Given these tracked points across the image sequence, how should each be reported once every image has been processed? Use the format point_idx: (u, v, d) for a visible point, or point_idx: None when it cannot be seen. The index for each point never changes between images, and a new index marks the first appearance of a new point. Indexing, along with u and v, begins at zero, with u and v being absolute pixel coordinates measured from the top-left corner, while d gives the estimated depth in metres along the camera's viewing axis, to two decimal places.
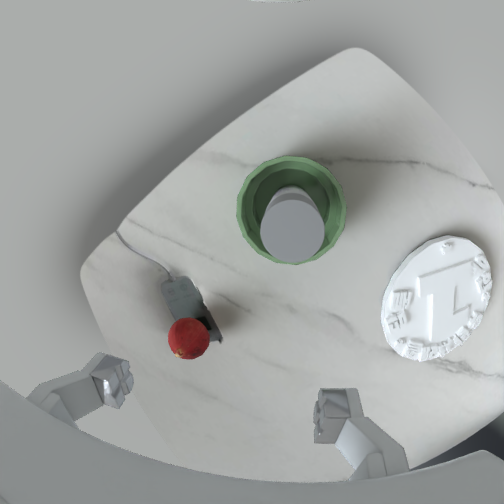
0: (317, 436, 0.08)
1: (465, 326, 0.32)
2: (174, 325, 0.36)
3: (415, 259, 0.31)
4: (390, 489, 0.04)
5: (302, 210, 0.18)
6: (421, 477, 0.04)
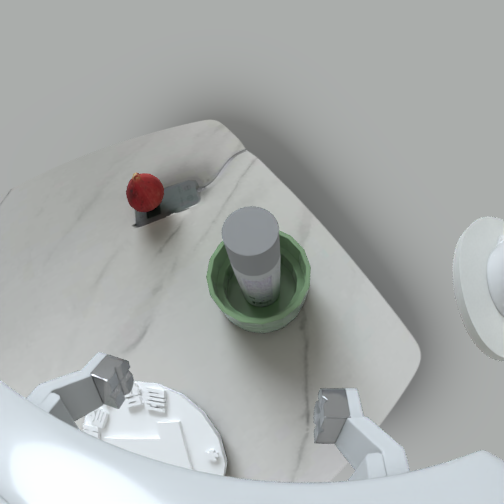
0: (317, 436, 0.08)
1: None
2: (159, 181, 0.39)
3: (200, 417, 0.27)
4: (390, 489, 0.04)
5: (269, 237, 0.21)
6: (421, 477, 0.04)
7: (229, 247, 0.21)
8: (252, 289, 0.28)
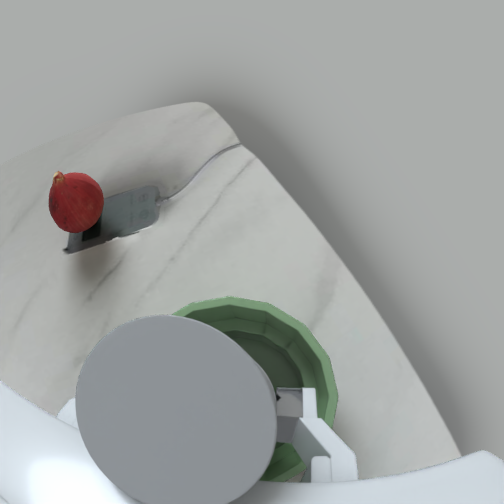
0: None
1: None
2: (96, 185, 0.23)
3: None
4: (390, 489, 0.04)
5: (233, 464, 0.04)
6: (421, 477, 0.04)
7: (95, 458, 0.04)
8: None
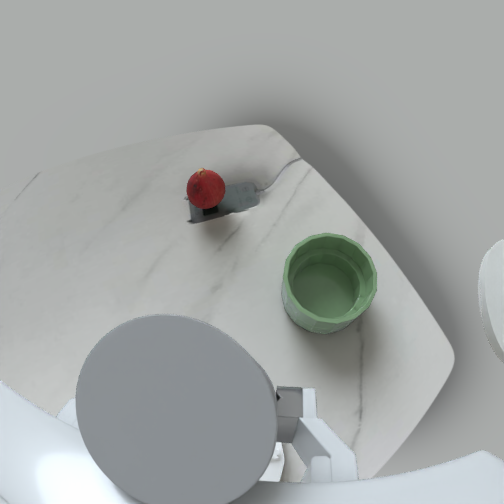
0: None
1: None
2: None
3: None
4: (390, 489, 0.04)
5: (233, 463, 0.04)
6: (421, 477, 0.04)
7: (95, 458, 0.04)
8: None
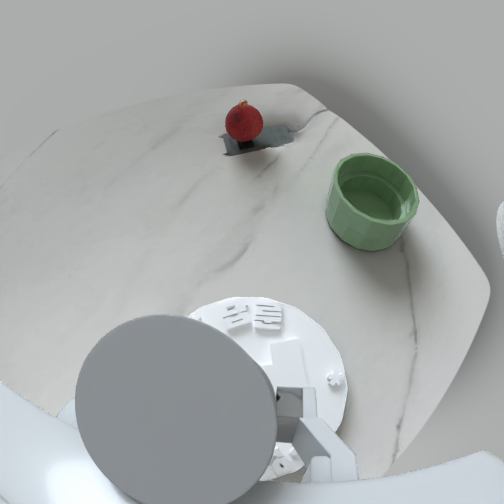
0: None
1: None
2: None
3: (321, 333, 0.26)
4: (390, 489, 0.04)
5: (232, 464, 0.04)
6: (421, 477, 0.04)
7: (94, 458, 0.04)
8: None
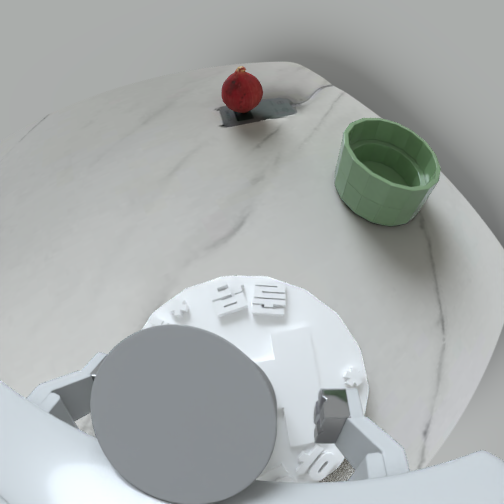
0: (317, 436, 0.08)
1: None
2: None
3: (336, 320, 0.21)
4: (390, 489, 0.04)
5: (237, 459, 0.04)
6: (421, 477, 0.04)
7: (109, 457, 0.04)
8: None
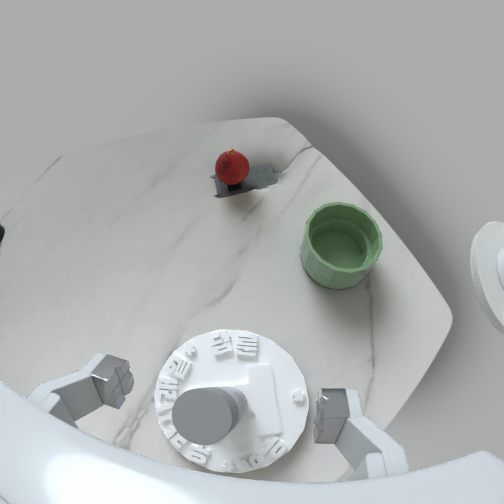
0: (317, 436, 0.08)
1: None
2: (246, 159, 0.46)
3: (289, 359, 0.33)
4: (390, 489, 0.04)
5: (220, 429, 0.16)
6: (421, 477, 0.04)
7: (178, 431, 0.16)
8: None
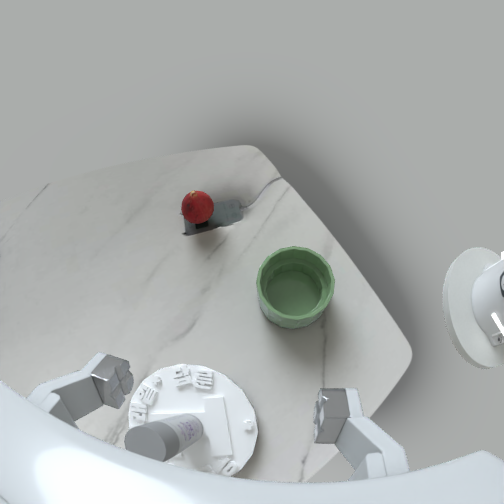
0: (317, 436, 0.08)
1: None
2: None
3: (240, 393, 0.36)
4: (390, 489, 0.04)
5: (158, 456, 0.19)
6: (421, 477, 0.04)
7: None
8: None
